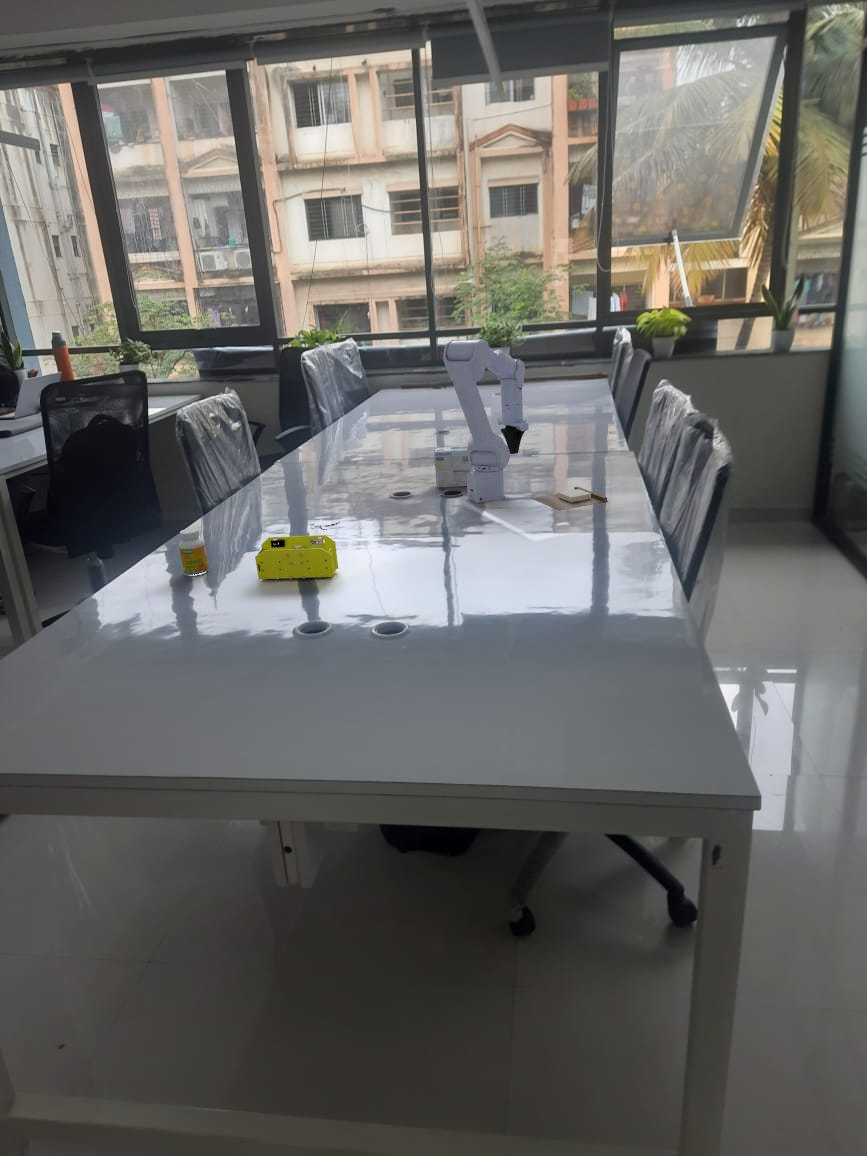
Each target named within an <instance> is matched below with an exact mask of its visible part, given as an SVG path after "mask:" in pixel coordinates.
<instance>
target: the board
mask: <svg viewBox="0 0 867 1156" xmlns="http://www.w3.org/2000/svg"><path fill="white" fill-rule="evenodd" d="M573 488H574V489H573V490H576V489H580V490H583V491H585V492H588V493H591V499H587V500H582V501H577V502H569V501H566V500H564V499H561V498H559V493H555V494H550V495H549V494H548V495H544V496H539V497H533V498H531V499H532V500H534V501H536V502H538V503H540V504H543V505H545V506H547V507H550V508H553V509H555V510H558V511H563V510H569V509H574V508H579V507H580V508H581V507H585V506H590V505H595V504H601V503H605V502H608V497H607V496H605V495H602V494H599V493H596V492H594V491H592V490H588V489H586V488H582V487H580V486H574V487H573Z"/></svg>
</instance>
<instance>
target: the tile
mask: <svg viewBox="0 0 867 1156" xmlns="http://www.w3.org/2000/svg"><path fill="white" fill-rule="evenodd" d="M558 494H559V498H561V499H564V500H566V501H569V502H577V501H582V500H587V499H591V493H588V492H585V491H583V490H580V489H576V490H574V489H570V490H566V491H560V492H558Z"/></svg>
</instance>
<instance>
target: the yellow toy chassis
mask: <svg viewBox="0 0 867 1156" xmlns="http://www.w3.org/2000/svg"><path fill="white" fill-rule="evenodd" d="M260 545H261V550H260V551H259V552H258V554H257V555H255V556H254V557H255V564H256V565H255V566H256V572H257V576H258V580H268V579H269V580H278V579H277V578H281V579H289V580H292V579H304V580H305V579H306V578H316V577H324V578H329V577H330V578H331V577H333V578H334V576H335V573H336V572H337V570H338V569H339V561H338V554H337V548H336V541H335V540H333V539H332V538H331V537H329V536H328V535H326V534H319V535H318V534H317V535H295V536H294V535H292V536H269V537H267V539H266V540H264V541H263V543H261V544H260Z"/></svg>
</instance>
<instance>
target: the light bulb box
mask: <svg viewBox="0 0 867 1156" xmlns="http://www.w3.org/2000/svg"><path fill="white" fill-rule="evenodd" d="M467 446H468V445H463V446H448V447H445V446H444V447H436V449H435V450H434V452H433V455H434V466H435V467H434V468H435V480H436V488H452V487H453V488H454V487H455V488H456V487H467V475H468V473H470V472H473V471H474V469H473V466H472V465H471V464H470V462H469V459H468V450H467Z"/></svg>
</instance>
